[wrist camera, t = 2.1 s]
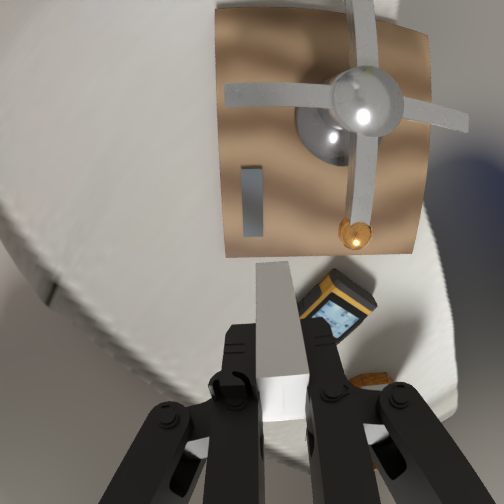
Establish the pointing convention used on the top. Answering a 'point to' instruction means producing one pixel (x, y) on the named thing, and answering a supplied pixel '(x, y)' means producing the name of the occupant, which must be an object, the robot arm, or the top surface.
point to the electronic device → (338, 304)
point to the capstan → (349, 117)
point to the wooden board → (291, 148)
